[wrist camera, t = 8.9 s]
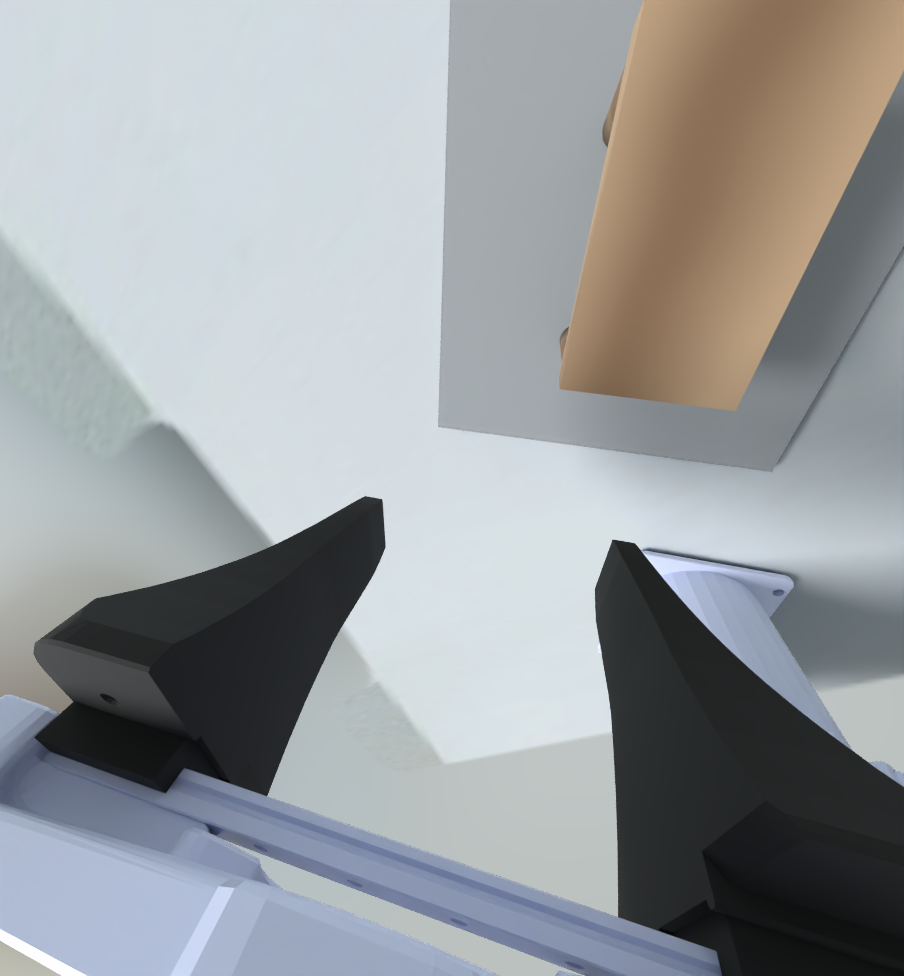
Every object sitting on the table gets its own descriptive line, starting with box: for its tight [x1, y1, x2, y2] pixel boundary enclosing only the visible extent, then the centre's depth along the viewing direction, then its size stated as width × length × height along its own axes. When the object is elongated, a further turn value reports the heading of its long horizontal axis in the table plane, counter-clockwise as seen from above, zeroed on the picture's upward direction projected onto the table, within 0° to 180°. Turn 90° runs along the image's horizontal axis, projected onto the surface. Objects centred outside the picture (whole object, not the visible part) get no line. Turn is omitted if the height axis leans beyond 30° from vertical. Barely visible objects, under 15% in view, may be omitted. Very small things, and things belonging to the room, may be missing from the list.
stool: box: [559, 0, 904, 411], centre depth 11 cm, size 5×8×6 cm, turn 177°
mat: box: [438, 0, 904, 472], centre depth 14 cm, size 16×16×1 cm
